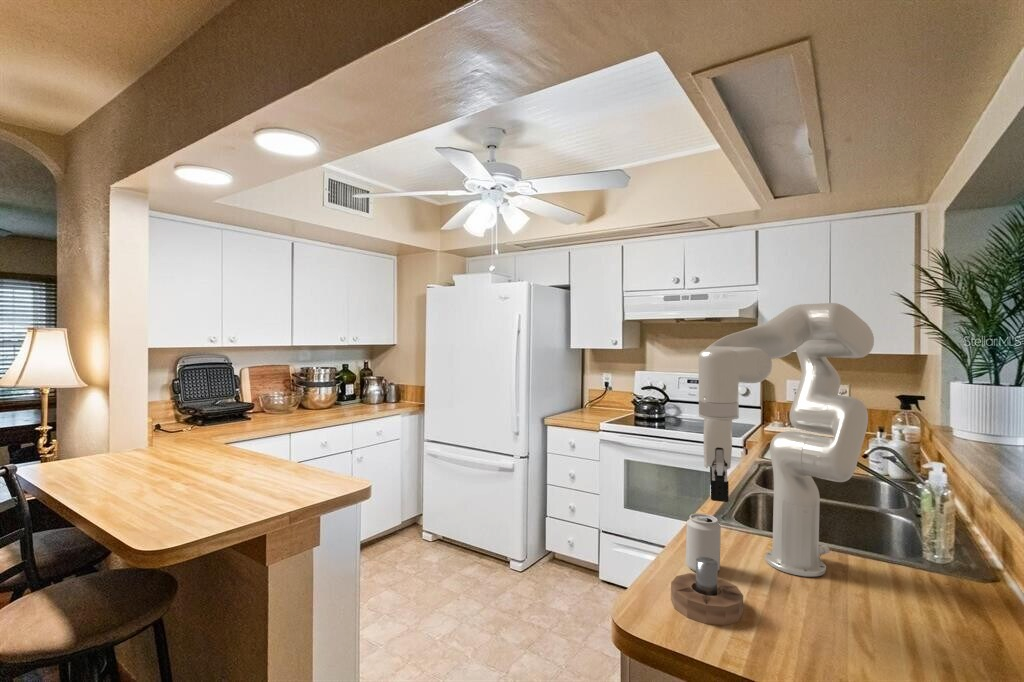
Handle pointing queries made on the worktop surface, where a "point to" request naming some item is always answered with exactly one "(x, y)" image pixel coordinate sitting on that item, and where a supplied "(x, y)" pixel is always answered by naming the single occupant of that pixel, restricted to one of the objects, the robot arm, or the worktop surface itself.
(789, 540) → the robot arm
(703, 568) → the peg
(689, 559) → the can
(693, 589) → the bead
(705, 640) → the worktop surface
